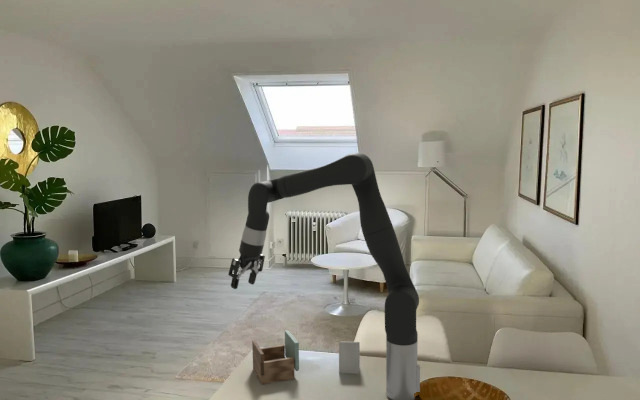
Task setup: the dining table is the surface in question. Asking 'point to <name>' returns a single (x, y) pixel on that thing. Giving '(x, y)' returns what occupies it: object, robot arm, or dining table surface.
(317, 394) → the dining table surface
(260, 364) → the brown wooden open box
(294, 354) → the panel
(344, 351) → the grey wedge block
